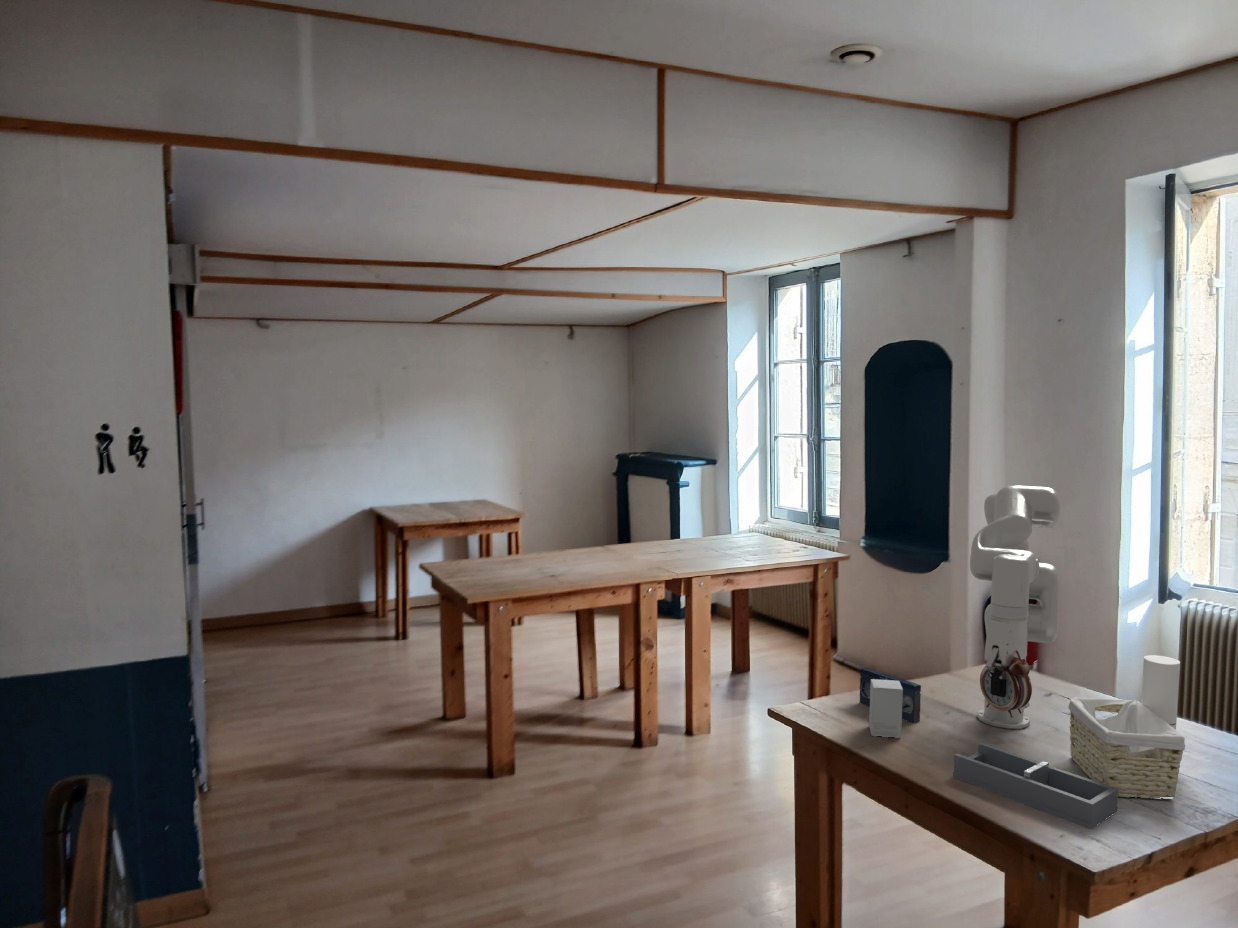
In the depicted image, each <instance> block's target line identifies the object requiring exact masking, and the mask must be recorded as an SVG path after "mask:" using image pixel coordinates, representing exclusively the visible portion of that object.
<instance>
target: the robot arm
mask: <svg viewBox="0 0 1238 928" xmlns="http://www.w3.org/2000/svg"><path fill="white" fill-rule="evenodd" d="M983 509H984V516H985V520H986V524H987V525H985V526H984V527H982V528H981V529H980V530H978V532H977V533H976V534H975V535H974V537H973V540H972V543H971V546H970V547H971V549H970V557H969V569H970V572H971V574H972V576H973V577H974V578H976V579H977V580H981V581H987V582H988V581H990V582H991V593H990V595H991V596H990V603H989V604H988V605H987V606H986V608H985V610H984V625H985V634H986V638H985V647H984V661H986V662H987V663H986V662H985V666H986V667H987V668H988V669H989V672H990V677H991V689H990V693H991V694H992V695H995V696H999V697H1002V698H1004V697H1005V696H1006V679H1004V677H1005V673H1006V668H1007V666H1009V665H1010V663H1011V662H1012V660H1013V659H1015V658H1018V656H1017V653H1016V650H1017V651H1018V652H1019V655H1020V657H1021V659H1025V661H1026V662H1027V656H1028V642H1033V643H1042V644H1043V643H1044V644H1050V643H1054V642H1055V641H1056V639H1057V638H1058V634H1059V625H1060V624H1059V623H1060V620H1059V619H1060V591H1061V589H1060V588H1061V585H1060V584H1061V583H1060V574H1059V571H1058V569H1057V567H1055V566H1054V565H1053V564H1051V563H1046V562H1040V561H1039V558H1038V557H1037V556H1036V555H1035V553H1034V552H1032V551H1029V550H1030V543H1029V541H1028V540H1029V538H1030V537H1031V535H1032V533H1033V529H1052V528H1054V527H1055V526H1056V525H1057V522H1058V520H1059V516H1060V514H1061V499H1060V497H1059V494H1058V492H1057V491H1056V490H1055V489H1054V488H1051V487H1048V486H1047V487H1046V486H1031V485H1008V486H1004V487H1002V488H1001V489H1000V490H998V492H997V493H993V494H990V495H989V496H987V497H986V498H985V500H984V505H983ZM1029 600H1036V601H1038V602H1039V604H1033V603H1029V602H1030V601H1029ZM997 661H1001V662H1002V663H1001V664H999V663H997ZM997 666H999V667H1002V668H1001V672H1000V671H999V669H998V668H996V667H997ZM987 704H988V701H987V700H986V699H985V698H984V705H983V706H984V707H983V708H982V709H979V711H977V718H978V719H979V720H980V721H981V722H982V723H985V724H987V725H990V726H992V727H996V728H1001V729H1008V730H1009V729H1010V730H1013V729H1014V730H1017V729H1019V730H1020V729H1024V728H1027V727H1029V726H1030V723H1031V719H1030V718H1029V717H1028V716H1027V715H1026V714H1024V713H1025V712H1024V711H1025V709H1027V708H1029V707H1031V706H1030V701H1029V702H1028V703H1027V704H1026V705H1025V706H1024V707H1021V708H1020V711H1021V712H1022V713H1021V714H1020V713H1019V711H1018V709H1016V710H1011V713H1012V716H1013V717H1012V718H1011V717H1010V714H1009V712H1008V710H1006V711H1003V710H998V709H996V708H994V707H993V706H991V705H989V707H986V705H987Z"/></svg>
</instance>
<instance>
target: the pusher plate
mask: <svg viewBox="0 0 1238 928" xmlns="http://www.w3.org/2000/svg"><path fill="white" fill-rule="evenodd" d="M1049 763H1050V762H1046V761H1041V762H1040V763H1039V764H1037V765H1035V766H1033V767H1031V768H1029V769H1027V770H1025V771H1024V777H1025V778H1028V779H1030V780H1033V781H1036V782H1039V783H1042V784H1044V785H1048V769H1049V766H1050V765H1049Z"/></svg>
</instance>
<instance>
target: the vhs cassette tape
mask: <svg viewBox="0 0 1238 928" xmlns="http://www.w3.org/2000/svg"><path fill="white" fill-rule="evenodd" d="M859 671H860V672H859V673H860V674H859V676H860V678H859V704H861V705H863V706H866V707H869V708H870V685H871V679H878V680H895V681H900V684H901V686H902V689H903V698H902V720H903V719H904V721H906V720H907V722H909V723H911V722H912V723H911V724H916V723H918V722H920V720H921V694H922V693H921V692H922V691H921V690H922V686H921V684H918V683H915V682H912V681H909V680H906V679H903V678H900V677H898V676H895V675H894V676H893V675H890V674H888V673H884V672H881V671H879V670H876V669H875V670H874V669H871V668H868V667H862V668H860V670H859Z"/></svg>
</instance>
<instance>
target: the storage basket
mask: <svg viewBox="0 0 1238 928" xmlns="http://www.w3.org/2000/svg"><path fill="white" fill-rule="evenodd" d="M1068 709H1069V711H1070V721H1069V724H1070V725H1069V732H1070V736H1069V741H1070V747H1069V749H1070V757H1071V759H1072V760H1073V761H1074V763H1076V765H1077V766H1078V767H1079V768H1080V769H1081V770H1082V771H1083V772H1084V773H1085V774H1086V775H1087V777H1088V778H1089V779H1090V780H1093V781H1096V782H1099V783H1102V784H1105V785H1108V786H1111V787H1114V788H1117V789H1118V798H1119V797H1120V798H1130V797H1135V798H1134V799H1137V797H1141V798H1140V799H1142V798H1151V799H1152V798H1160V797H1174V798H1175V795H1176V789H1177V784H1178V782H1179V780H1178V779H1179V773H1180V767H1181V761H1182V758H1183V753H1184V751H1185V750H1186V744H1185V736H1184V735H1183V734H1182V733H1180V732H1179V731H1178V730H1177V729H1176V730H1175V729H1174V728H1173V727H1172V726H1170V725H1169V724H1168V723H1166V722H1165V721H1164V720H1162V719H1161V718H1160V717H1158V716H1157V715H1156V714H1155V713H1153V712H1152V711H1151V710H1149V709H1148V708H1147V707H1146V706H1144V705H1143V704H1142V703H1141V702H1140V700H1134V699H1131V700H1130V699H1129V700H1128V699H1119V698H1118V699H1117V698H1116V699H1115V698H1096V697H1075V696H1074V697H1072V698H1070V700H1069V703H1068ZM1096 712H1106V713H1108V712H1109V713H1115V714H1116V713H1117V715H1114V716H1109V717H1107V718H1104V719H1097V717H1096Z"/></svg>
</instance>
